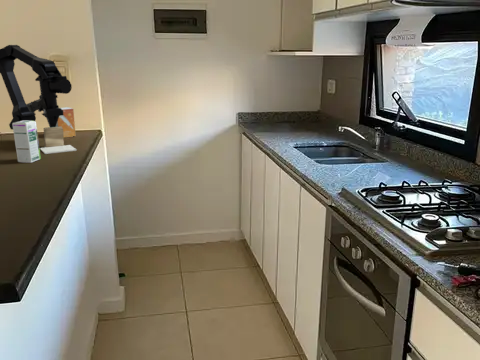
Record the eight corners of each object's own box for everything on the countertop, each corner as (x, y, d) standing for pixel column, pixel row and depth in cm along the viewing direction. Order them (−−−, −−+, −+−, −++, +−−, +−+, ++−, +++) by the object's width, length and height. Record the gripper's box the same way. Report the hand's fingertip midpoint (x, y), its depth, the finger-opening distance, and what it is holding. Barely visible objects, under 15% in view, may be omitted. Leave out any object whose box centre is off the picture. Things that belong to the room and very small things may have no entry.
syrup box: (31, 163, 166) (26, 122, 162) (17, 162, 167) (11, 122, 163) (41, 159, 171) (36, 120, 167) (27, 158, 172) (22, 119, 168)
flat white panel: (39, 149, 188) (39, 148, 187) (70, 146, 194) (70, 144, 194) (44, 154, 180) (44, 152, 179) (76, 150, 186) (76, 149, 186)
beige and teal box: (44, 145, 191) (43, 127, 187) (62, 143, 195) (61, 126, 191) (46, 148, 189) (45, 130, 185) (63, 146, 193) (63, 129, 189)
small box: (59, 138, 209) (56, 109, 205) (53, 136, 213) (50, 108, 209) (76, 136, 214) (73, 108, 211) (70, 134, 219) (67, 106, 215)
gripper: (22, 91, 190) (27, 129, 194) (31, 95, 175) (36, 136, 179) (51, 90, 196) (55, 127, 200) (61, 94, 181) (65, 133, 185)
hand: (52, 130), depth 191 cm, fingers closed
